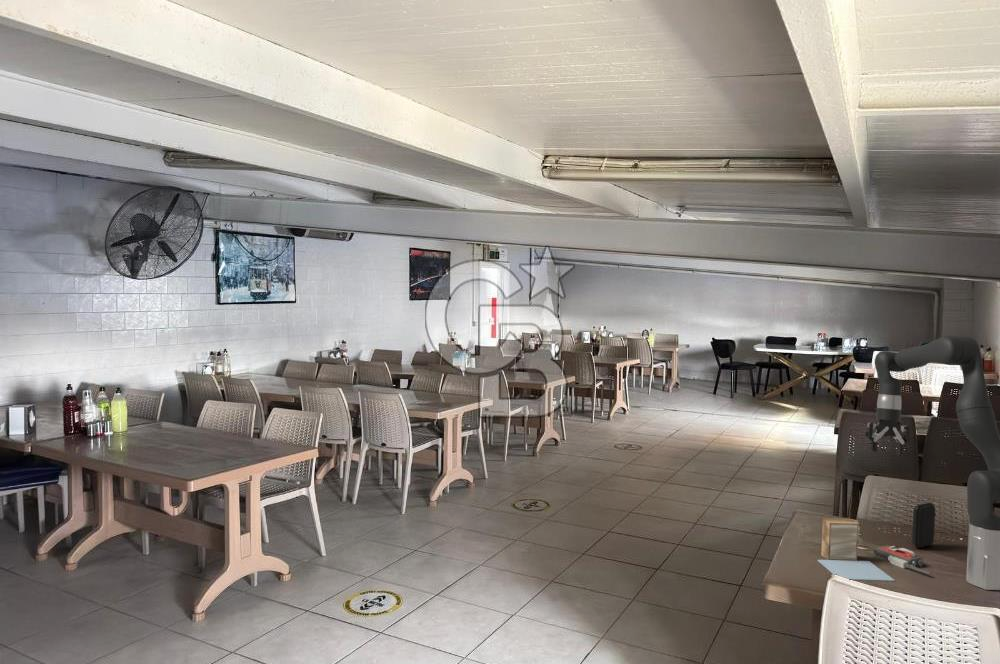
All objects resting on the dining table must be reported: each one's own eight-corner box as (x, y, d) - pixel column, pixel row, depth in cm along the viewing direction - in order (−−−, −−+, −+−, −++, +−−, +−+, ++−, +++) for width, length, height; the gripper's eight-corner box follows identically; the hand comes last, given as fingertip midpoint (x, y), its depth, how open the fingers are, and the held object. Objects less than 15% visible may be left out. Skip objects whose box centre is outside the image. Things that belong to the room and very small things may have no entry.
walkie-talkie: (867, 556, 227) (928, 579, 209) (868, 543, 227) (929, 565, 208) (886, 552, 231) (947, 575, 212) (886, 539, 230) (948, 560, 212)
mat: (894, 581, 206) (894, 580, 206) (839, 579, 206) (839, 578, 206) (869, 562, 221) (869, 561, 221) (817, 560, 221) (817, 559, 221)
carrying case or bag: (928, 543, 240) (930, 500, 239) (937, 545, 237) (939, 502, 237) (909, 547, 235) (911, 504, 234) (918, 550, 232) (920, 506, 232)
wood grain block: (857, 561, 221) (858, 523, 221) (828, 560, 221) (829, 522, 221) (849, 555, 226) (851, 518, 226) (821, 554, 226) (822, 517, 226)
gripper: (873, 406, 246) (871, 453, 245) (915, 410, 246) (912, 456, 245) (863, 405, 254) (861, 450, 253) (903, 408, 253) (901, 454, 252)
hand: (886, 453), depth 249 cm, fingers open, 8 cm apart
